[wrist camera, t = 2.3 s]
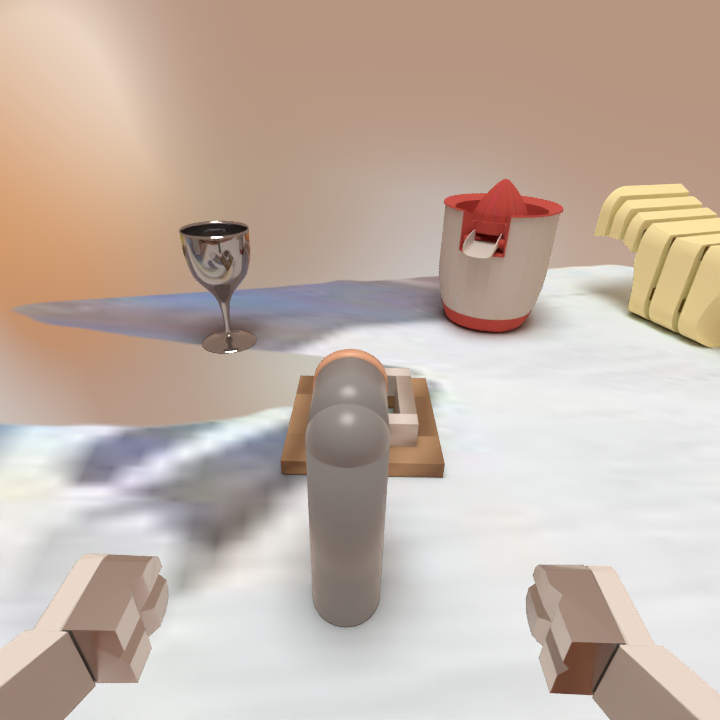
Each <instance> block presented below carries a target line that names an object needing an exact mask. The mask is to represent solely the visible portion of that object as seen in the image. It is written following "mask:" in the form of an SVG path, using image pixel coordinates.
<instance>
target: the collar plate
mask: <svg viewBox="0 0 720 720" xmlns="http://www.w3.org/2000/svg"><path fill="white" fill-rule="evenodd" d="M384 369H385V371H386V374H387V381H388V392H387V403H388V408H394V414H388V416H389V429H390V450H389V465H388V476H405V477H443V472H444V465H445V464H444V459H443V455H442V450H441V446H440V441H439V437H438V432H437V428H436V423H435V419H434V414H433V410H432V405H431V401H430V396H429V392H428V387H427V383H426V378H411V376H410V370H409V369H405V368H384ZM313 381H314V376H301V377H300V381H299V385H298V390H297V394H296V398H295V402H294V406H293V411H292V415H291V419H290V423H289V428H288V432H287V436H286V440H285V445H284V449H283V453H282V457H281V470H282V474H307V466H306V445H305V436H306V429H307V423H308V418H309V412H310V407H311V401H312V395H313Z"/></svg>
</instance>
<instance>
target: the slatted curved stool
mask: <svg viewBox="0 0 720 720" xmlns="http://www.w3.org/2000/svg"><path fill="white" fill-rule="evenodd" d="M688 194H689V191H688V190H687V189H686V188H685V187H684V186H683V185H682V184H665V185H642V186H624V187H620V188H618V189H616V190H615V191H614V192H612V193H611V194H610V195H609V197H608V198H607V199H606V201H605V202H604V204H603V206H602V209H601V212H600V215H599V219H598V223H597V226H596V230H595V234H594V236H609V237H612V238H615V239H617V240H621V239H624V241H623V243H624V244H625V245H627V247H628V248H629V249H630V251H631V252H637V254H636V257H635V260H634V279H633V288H632V293H631V296H630V300H629V305H628V310H629V311H630V312H632V313H634V314H637V315H639V316H641V317H643V318H645V319H648V320H651V321H653V322H654V323H656V324H659V325H661V326H663V327H665V328H667V329H670V330H672V331H674V332H676V333H680V334H681V335H683V336H685V337H687V338H689V339H692V340H694V341H696V342H698V343H700V344H703V345H705V346H707V347H711V348H714V347H719V346H720V218H716V216H717V214H716V213H715V212H713V211H712V210H710V209H709V208H701V207H702V203H701V202H700V201H699V200H697V199H696V198H695V197H694V196H691V197H688Z"/></svg>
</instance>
